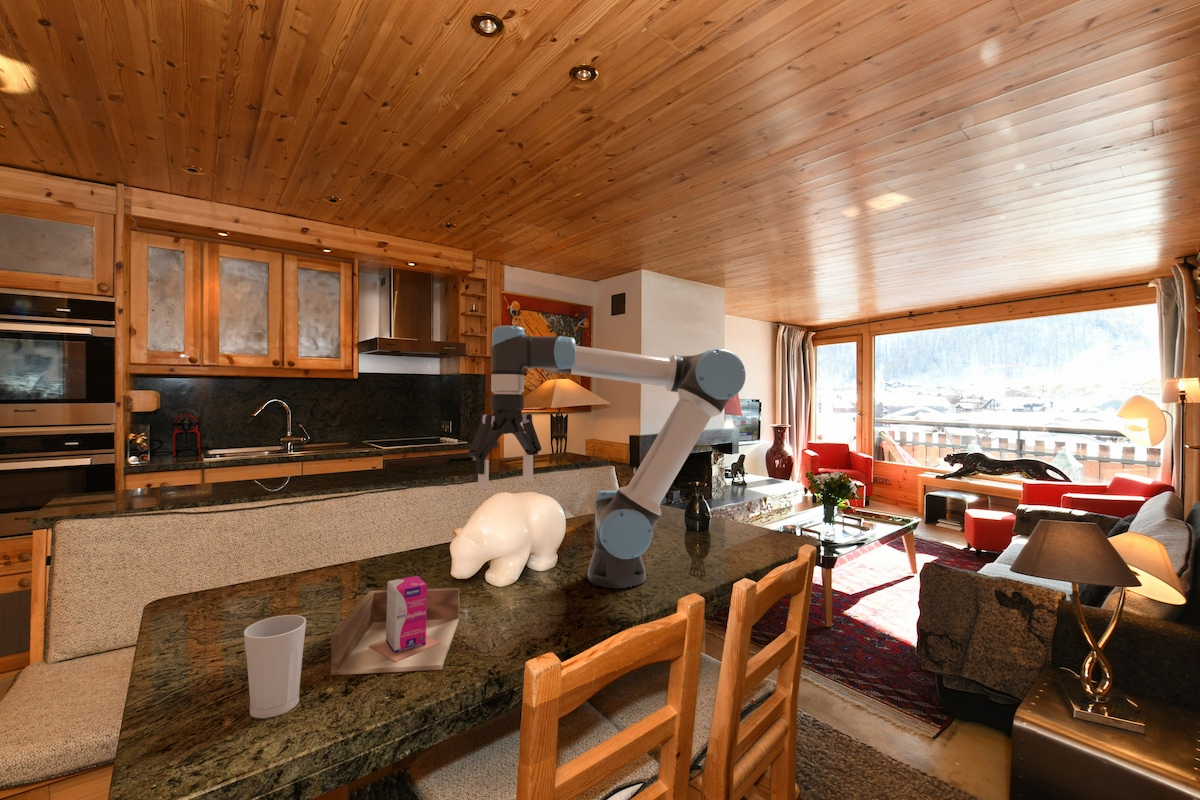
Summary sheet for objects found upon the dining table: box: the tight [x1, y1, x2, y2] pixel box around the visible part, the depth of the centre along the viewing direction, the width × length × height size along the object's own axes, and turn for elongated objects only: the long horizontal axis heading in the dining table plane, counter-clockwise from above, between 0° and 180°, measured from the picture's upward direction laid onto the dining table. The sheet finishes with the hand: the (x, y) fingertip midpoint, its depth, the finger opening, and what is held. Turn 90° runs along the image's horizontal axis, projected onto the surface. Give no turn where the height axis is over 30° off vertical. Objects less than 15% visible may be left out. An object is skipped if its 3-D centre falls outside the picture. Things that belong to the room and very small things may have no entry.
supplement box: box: [386, 575, 428, 653], centre depth 95 cm, size 6×6×12 cm
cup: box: [243, 614, 307, 719], centre depth 78 cm, size 8×8×12 cm
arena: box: [330, 587, 460, 676], centre depth 97 cm, size 18×20×7 cm
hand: (506, 485), depth 119 cm, fingers open, 13 cm apart
